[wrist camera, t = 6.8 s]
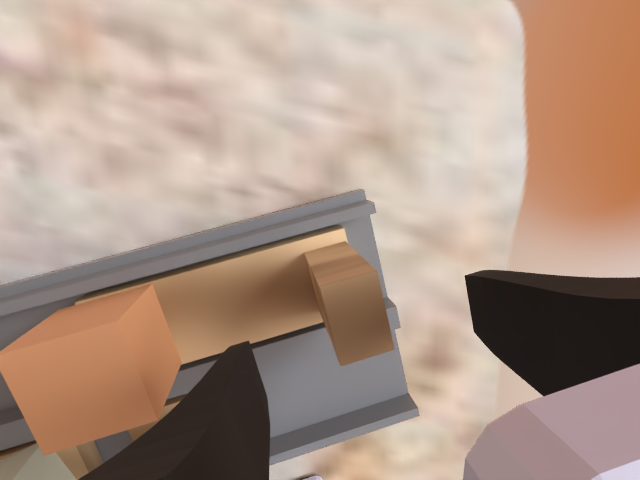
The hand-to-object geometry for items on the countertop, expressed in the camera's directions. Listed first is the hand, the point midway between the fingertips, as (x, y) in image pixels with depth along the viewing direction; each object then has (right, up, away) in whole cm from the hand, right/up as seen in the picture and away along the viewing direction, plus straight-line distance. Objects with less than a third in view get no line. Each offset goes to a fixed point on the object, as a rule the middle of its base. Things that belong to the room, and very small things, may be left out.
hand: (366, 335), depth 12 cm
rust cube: (-10, -1, +5) cm, 11 cm away
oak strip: (-6, 0, +7) cm, 9 cm away
